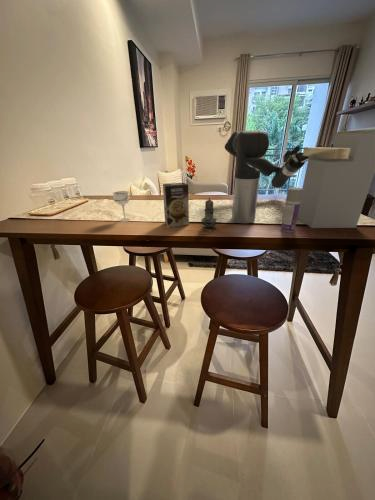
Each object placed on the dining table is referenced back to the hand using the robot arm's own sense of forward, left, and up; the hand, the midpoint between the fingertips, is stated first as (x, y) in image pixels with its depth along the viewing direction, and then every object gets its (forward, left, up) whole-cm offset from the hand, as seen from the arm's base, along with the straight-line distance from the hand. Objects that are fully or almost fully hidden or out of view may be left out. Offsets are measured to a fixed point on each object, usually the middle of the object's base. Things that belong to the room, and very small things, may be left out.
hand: (309, 146), depth 87 cm
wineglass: (-79, -10, -27) cm, 84 cm away
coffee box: (-55, -16, -27) cm, 63 cm away
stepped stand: (+5, -15, -27) cm, 31 cm away
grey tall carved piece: (-42, -22, -27) cm, 54 cm away
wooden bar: (0, -12, -3) cm, 12 cm away
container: (-13, -24, -27) cm, 38 cm away
